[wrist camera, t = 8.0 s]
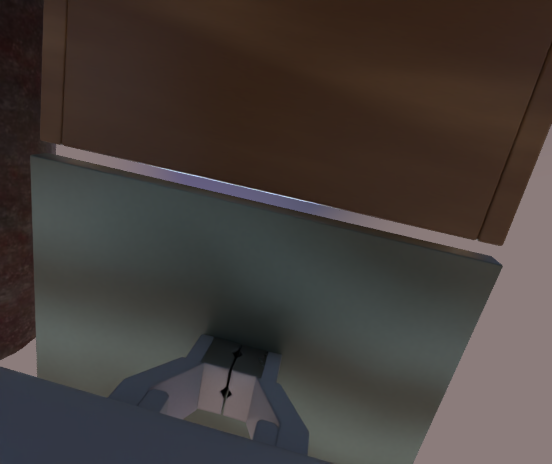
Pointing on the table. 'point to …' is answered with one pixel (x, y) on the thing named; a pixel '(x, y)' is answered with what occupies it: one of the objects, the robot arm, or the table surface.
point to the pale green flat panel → (250, 302)
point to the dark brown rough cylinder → (18, 165)
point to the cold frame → (314, 98)
